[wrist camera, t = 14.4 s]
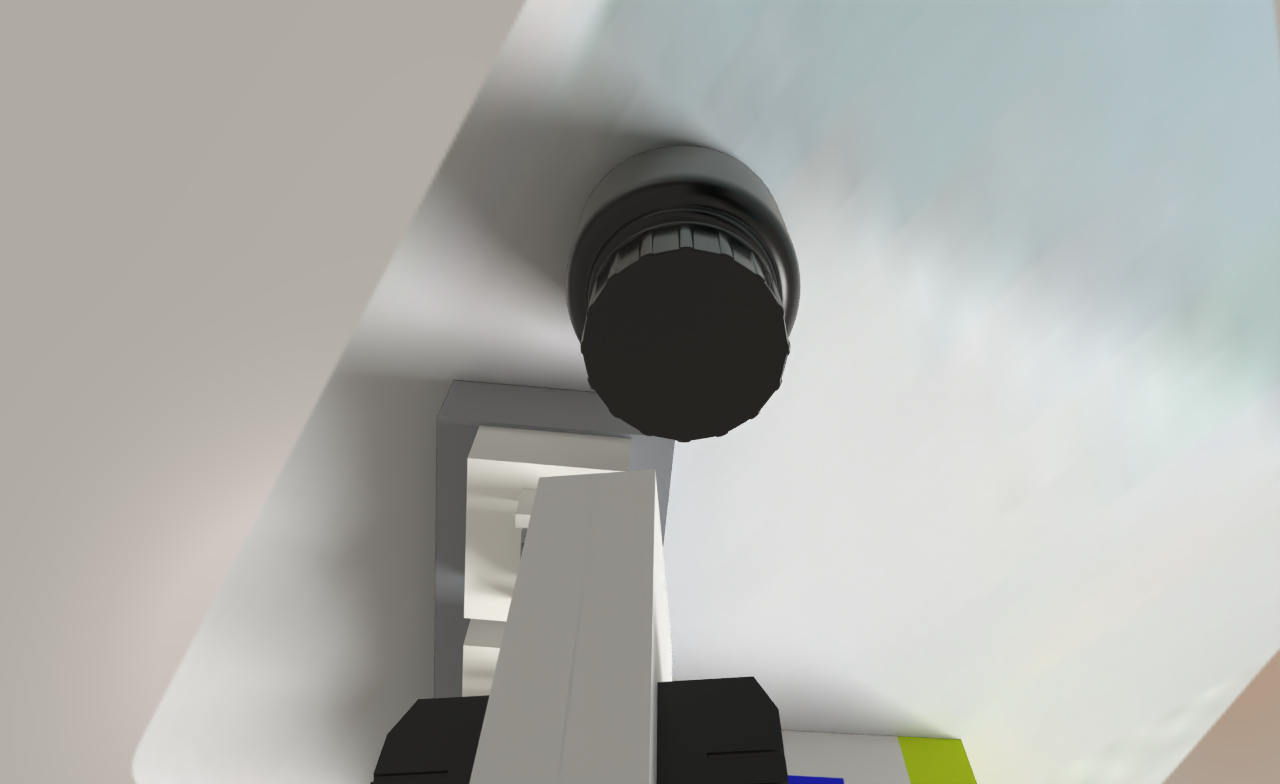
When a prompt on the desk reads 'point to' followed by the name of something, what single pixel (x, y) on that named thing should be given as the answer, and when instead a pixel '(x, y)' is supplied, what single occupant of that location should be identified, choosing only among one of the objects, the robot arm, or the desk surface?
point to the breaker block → (510, 504)
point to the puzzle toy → (874, 759)
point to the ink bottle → (683, 292)
